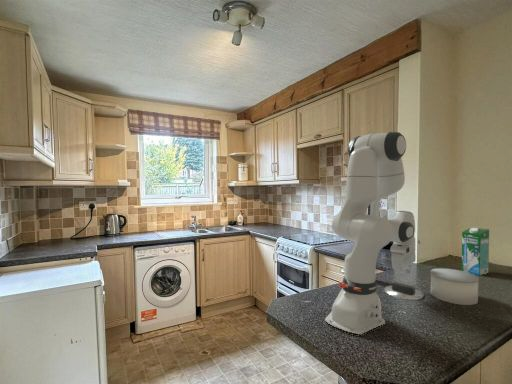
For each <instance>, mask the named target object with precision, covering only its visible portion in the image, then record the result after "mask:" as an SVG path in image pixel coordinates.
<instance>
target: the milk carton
mask: <svg viewBox="0 0 512 384" xmlns="http://www.w3.org/2000/svg"><path fill="white" fill-rule="evenodd" d="M489 252H490V229H489V228H488V229H487V228H481V227H469V228H467V229H466V230H464V231H462V232H461V271H464V272H468V273H472V274H474V275H475V274H476V276H479V275H480V276H483V274H484V275H488V274H489V264H490V261H489V260H490V259H489V257H490V256H489V255H490V253H489ZM487 273H488V274H487Z"/></svg>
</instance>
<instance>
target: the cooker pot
mask: <svg viewBox="0 0 512 384" xmlns="http://www.w3.org/2000/svg"><path fill="white" fill-rule="evenodd" d="M429 274H430V294H431V295H432V297H434V298H436V299H438V300H441V301H443V302H446V303H450V304H453V305H454V304H455V305H461V306H473V305H474V306H475V305H477V304H478V302H479V281H480V276H478V275H475V274H471V273H468V272H464V271H462V270H458V269H454V268H453V269H452V268H441V267H440V268H432V269H431V270H430V271H429Z"/></svg>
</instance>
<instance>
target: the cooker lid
mask: <svg viewBox="0 0 512 384" xmlns="http://www.w3.org/2000/svg"><path fill="white" fill-rule="evenodd" d="M391 284H392V285H386V286H385V287H384V289H383V290H384V292H385V293H386V294H388V295H389V296H391V297H393V298H398V299H401V300H406V301H419V300H422V299H424V297H425V296H424V293H423V292H422V291H421V290H419V289H416V286H413V285H409V284H404V283H399V282H396V281H394V282H392V283H391Z"/></svg>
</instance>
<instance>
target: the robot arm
mask: <svg viewBox="0 0 512 384" xmlns="http://www.w3.org/2000/svg"><path fill="white" fill-rule="evenodd" d="M406 150H407V141H406V137H405V136H404V135H403V134H402V133H401V132H397V131H388V132H378V133H375V132H374V133H369V134H365V135H359V136H356V137H353V138H352V139H350V141H349V143H348V145H347V155H348V156H349V157H348V164H347V170H346V173H347V174H346V183H345V184H346V185H345V186H346V187H345V197H344V202H343V204H342V207H341V209H340V210H339V211H338V213H336V215H335V216H334V217H333V219H332V221H331V228H332V231H333V233H334V234H335V235H337V236H338V237H340V238H341V239H343V240H345V241H351V242H353V243H354V245H353V248H352V251H351V252H349V253H348V254H346V255H345V257H344V276H343V279H342V281H339V282H338V287H339V288H341V289H340V291H339V293H338V295H337V296H336V298H335V300H334V302H333V304H332V305H331V306H332V307H331V311H330V313H329V314H328V315H327V316H326V317H325V318H324V322H325V321H326V322H327V323H328V324H330V325H332V326H334V327H337V328H339V329H342V330H344V331H348V332H352V333H356V334H362V333H364V332H367V331H369V330H371V329H373V328H376V327H378V326H380V327H382V326H384V325H386V320H385V319H384V318H383V317H382V304H381V299H380V297H379V295H378V293H377V288H378V283H377V280H376V272H377V271H376V270H377V261H378V260H377V259H378V256H379V254H380V252H381V251H382V249H383V248H384V247H386V246H388V244H389V243H390V242H393V243H392V245H391V246H390V247H389V248H390V249H389V250H390V252H391V267H392V269H393V270H394V271H396V272H397V275H398V279H401V280H402V279H403V278H404V269H405V273H406V274H410V273H411V272H412V266H413V265H412V264H413V263H415V261H416V238H415V233H416V223H415V221H416V220H415V215H414V213H413V212H411V211H405V210H397V211H395V212H394V215H393V219H389V218H387V219H385V218H383V217H380V205H381V204H380V203H381V200H382V199H383V198H386V197H388V196H391V195H394V194H395V193H397V192H399V191H400V190H401V189H403V187H404V185H405V181H406V180H405V178H406V177H405V170H404V169H405V168H404V163H403V160H402V157H403V156H404V155H405V153H406ZM326 322H325V323H326ZM327 323H326V324H327ZM328 324H327V325H328ZM383 324H384V325H383ZM330 325H329V326H330ZM381 325H382V326H381ZM332 326H331V327H332ZM378 328H379V327H378ZM376 329H377V328H376Z"/></svg>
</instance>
